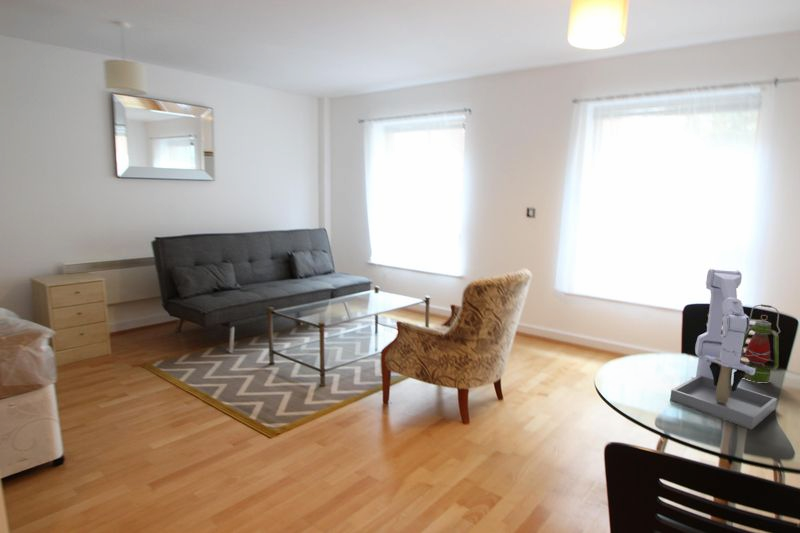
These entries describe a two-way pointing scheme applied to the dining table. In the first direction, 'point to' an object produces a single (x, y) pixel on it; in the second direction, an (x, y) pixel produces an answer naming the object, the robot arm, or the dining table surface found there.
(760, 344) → the lantern
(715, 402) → the bin
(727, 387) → the handle
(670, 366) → the dining table surface
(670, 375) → the dining table surface
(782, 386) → the dining table surface
